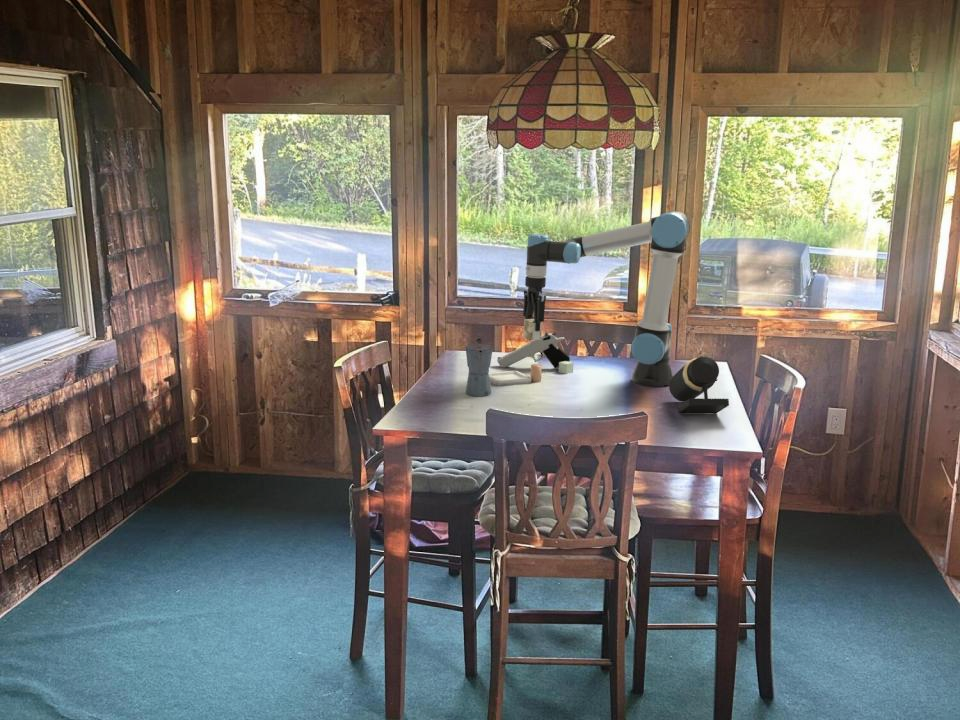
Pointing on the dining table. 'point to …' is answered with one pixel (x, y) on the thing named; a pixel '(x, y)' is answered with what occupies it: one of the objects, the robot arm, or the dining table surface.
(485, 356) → the moka pot
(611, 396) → the dining table surface
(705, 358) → the light fixture
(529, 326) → the birch block
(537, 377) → the peach capsule
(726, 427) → the dining table surface
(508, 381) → the tray
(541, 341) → the handgun
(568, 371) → the sage block
